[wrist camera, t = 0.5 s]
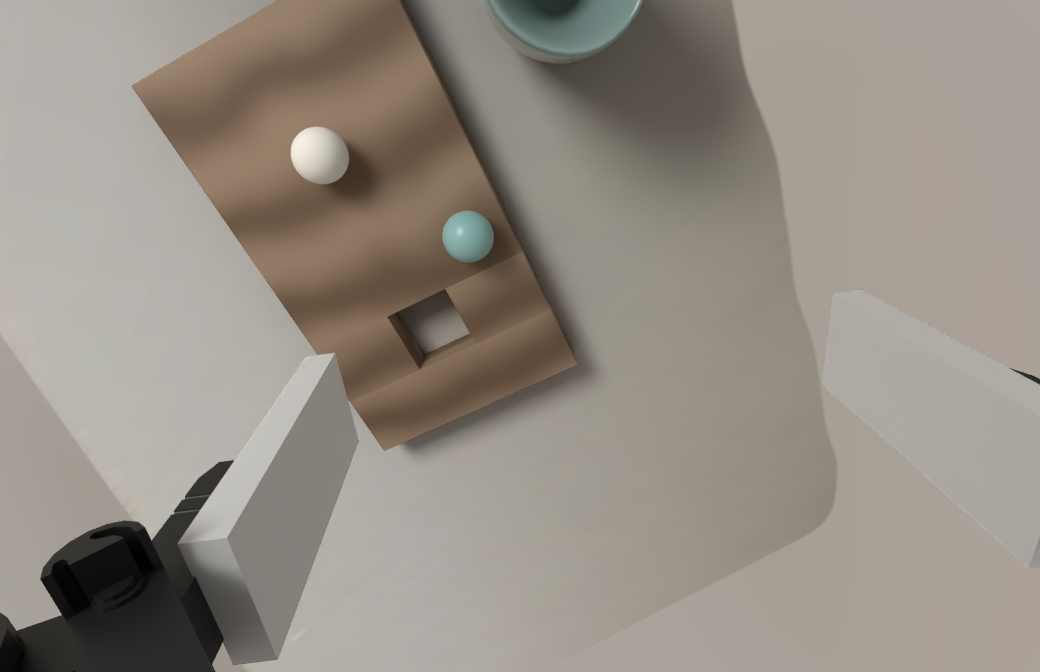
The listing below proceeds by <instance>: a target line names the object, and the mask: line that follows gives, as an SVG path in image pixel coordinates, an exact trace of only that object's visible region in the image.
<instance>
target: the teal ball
mask: <svg viewBox="0 0 1040 672" xmlns="http://www.w3.org/2000/svg"><path fill="white" fill-rule="evenodd" d="M442 240H443V244H444V247H445V249H446V250H447V252H448V253H449V254H450V255H451V256H452V257H453V258H454V259H456V260H458V261H461V262H465V263H472V262H476V261H479V260H481V259H482V258H484V257H485V256H486V255H487V254H488V253H489V252H490V250H491V248H492V246H493V242H494V232H493V228H492V226H491V224H490V222H489V221H488V220H487V219H486V218H485V217H484V216H483V215H482V214H480V213H478V212H475V211H469V210H466V211H461V212H458V213H456V214H454V215H453V216H451V217H450V218H449V219H448V221H447V222H446V224H445V225H444V228H443V233H442Z"/></svg>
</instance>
